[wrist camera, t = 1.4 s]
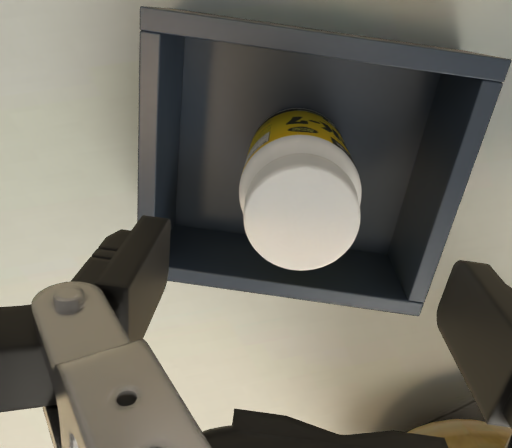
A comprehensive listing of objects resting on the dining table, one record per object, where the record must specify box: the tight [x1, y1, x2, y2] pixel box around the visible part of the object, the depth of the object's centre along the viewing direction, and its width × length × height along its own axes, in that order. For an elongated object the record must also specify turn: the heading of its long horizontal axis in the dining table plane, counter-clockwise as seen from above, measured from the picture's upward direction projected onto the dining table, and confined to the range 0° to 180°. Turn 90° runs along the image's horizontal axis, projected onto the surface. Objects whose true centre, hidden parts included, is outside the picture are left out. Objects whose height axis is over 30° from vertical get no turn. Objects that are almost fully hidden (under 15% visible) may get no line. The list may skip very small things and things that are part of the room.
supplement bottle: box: [239, 108, 362, 271], centre depth 19 cm, size 5×5×8 cm
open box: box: [137, 6, 511, 316], centre depth 21 cm, size 12×14×5 cm
